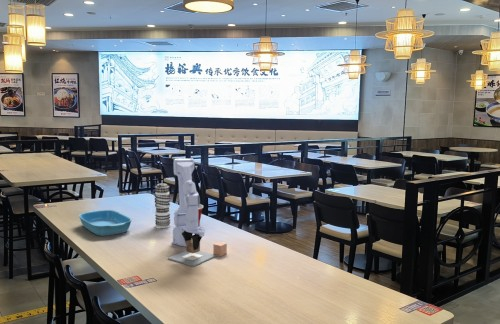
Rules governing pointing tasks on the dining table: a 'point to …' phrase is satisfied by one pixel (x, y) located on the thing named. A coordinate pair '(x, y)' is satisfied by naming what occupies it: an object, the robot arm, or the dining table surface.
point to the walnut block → (191, 247)
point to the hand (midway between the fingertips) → (192, 248)
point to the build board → (192, 258)
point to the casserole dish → (105, 222)
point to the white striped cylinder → (162, 206)
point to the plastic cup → (199, 213)
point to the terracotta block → (219, 248)
